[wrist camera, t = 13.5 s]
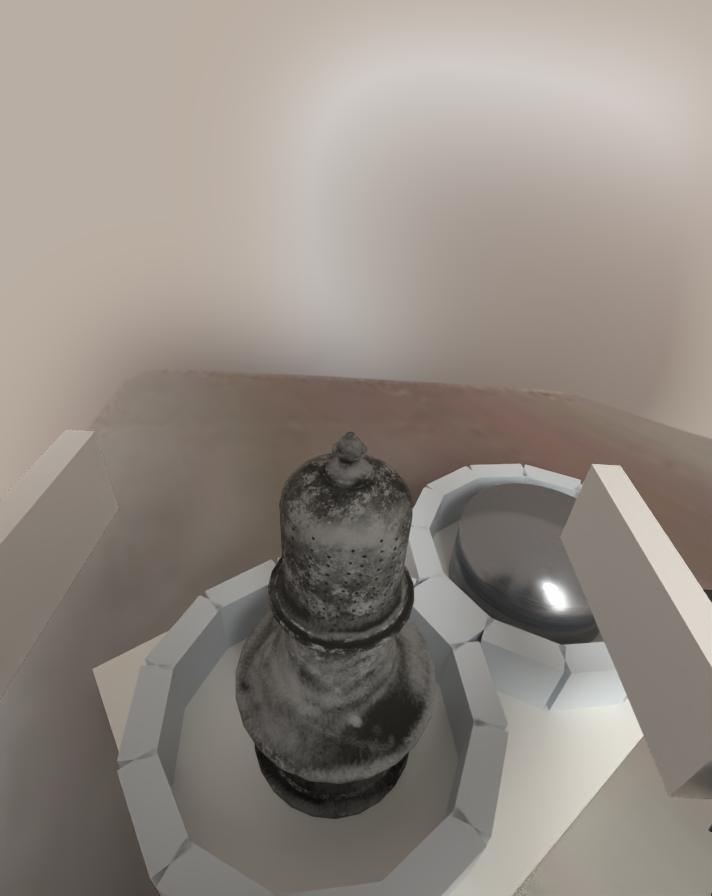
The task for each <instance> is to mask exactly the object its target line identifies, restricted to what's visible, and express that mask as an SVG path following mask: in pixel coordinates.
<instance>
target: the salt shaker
mask: <svg viewBox="0 0 712 896" xmlns="http://www.w3.org/2000/svg"><path fill="white" fill-rule="evenodd" d="M332 452H333V453H328V454H324V455H320V456H317V457H315V458H313V459H310V460H308V461H307V462H305V463H304V464H303V465H301V466H300V467H299V468H298V469H297V470H295V471H294V472H293V473H292V474H291V476H290V477H289V479H288V480H287V481H286V483H285V485H284V489H283V492H282V496H281V500H280V504H279V505H280V524H281V544H282V557H281V558H280V559H279V561H278V562H277V564H276V565H275V567H274V569H273V570H272V573H271V576H270V580H269V584H268V594H269V605H270V607H271V610H270V611H269V612H268V613H267V614H266V615H265V616H264V617H263V618H262V619H261V620H260V621H259V622H258V624H257V625H256V626H255V627H254V628H253V630H252V632H251V634H250V635H249V637H248V639H247V640H246V642H245V644H244V645H243V647H242V651H241V654H240V658H239V661H238V665H237V668H236V702H237V705H238V709H239V712H240V716H241V719H242V723H243V726H244V728H245V729H246V731H247V732H248V734H249V736H250V737H251V739H252V740H253V742H254V743H255V752H256V756H257V759H258V763H259V766H260V769H261V772H262V774H263V776H264V777H265V779H266V780H267V782H268V784H269V785H270V787H271V788H272V790H273V792H274V793H276V794H277V795H278V796H279V797H280V798H281V799H282V800H283V801H285V802H286V803H287V804H288V805H289V806H290V807H292V808H294V809H296V810H299V811H301V812H303V813H305V814H308V815H310V816H312V817H321V818H330V819H338V818H343V817H348V816H352V815H357V814H360V813H362V812H363V811H365V810H367V809H369V808H370V807H372V806H374V805H376V804H377V803H379V802H380V801H381V800H382V799H383V798H384V797H385V796H386V795H387V794H388V793H389V792H390V791H391V790H392V789H393V787H394V786H395V785H396V783H397V781H398V779H399V778H400V776H401V774H402V772H403V770H404V768H405V766H406V764H407V759H408V755H409V751H410V750H411V749H412V748H413V747H414V746H415V745H416V744H417V743H418V741H419V739H420V737H421V735H422V733H423V732H424V730H425V728H426V726H427V724H428V722H429V720H430V718H431V714H432V709H433V705H434V700H435V695H436V678H435V665H434V662H433V659H432V656H431V653H430V650H429V647H428V644H427V642H426V640H425V639H424V637H423V636H422V634H421V633H420V631H419V630H418V628H417V627H416V625H415V624H414V622H413V621H412V620H411V619H409V617H410V614H411V610H412V607H413V604H414V584H413V581H412V578H411V576H410V573H409V570H408V569H407V567H406V566H405V565H404V564H405V558H406V552H407V546H408V540H409V534H410V529H411V523H412V517H413V513H412V500H411V494H410V491H409V489H408V487H407V485H406V483H405V482H404V481H403V480H402V478H401V477H400V476H399V475H398V474H397V472H396V471H395V470H394V469H393V468H392V467H390V466H389V465H387V464H386V463H385V462H383V461H381V460H379V459H376V458H374V457H372V456H368V455H366V453H367V448H366V446H365V445H364V444H363V443H361V440H360V439H359V438H358V437H356V436H355V434H354V433H353V432H348V433H346V435H345V436H343V437H342V438H340V440H339V441H338V442H337V443H335V444H334V445H333V449H332Z"/></svg>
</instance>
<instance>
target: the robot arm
mask: <svg viewBox="0 0 712 896" xmlns="http://www.w3.org/2000/svg"><path fill="white" fill-rule="evenodd" d="M118 509H119V507H118V504H117V501H116V498H115V494H114V491H113V488H112V485H111V482H110V478H109V475H108V472H107V469H106V465H105V462H104V459H103V456H102V452H101V449H100V446H99V443H98V439H97V436H96V433H95V431H81V430H65V431H64V432H63V433H62V434H61V435H60V436H59V437H58V438H57V440H56V441H55V442H54V443H53V444H52V445H51V446H50V447H49V448H48V449H47V450H46V451H45V452H44V453H43V454H42V456H41V457H40V458H39V459H38V460H37V461H36V462H35V463H34V464H33V465H32V466H31V467H30V468H29V470H28V471H27V472H26V473H25V474H24V475H23V476H22V477H21V478H20V479H19V480H18V481H17V482H16V483H15V484H14V486H13V487H12V488H11V489H10V490H9V491H8V492H7V493H6V494H5V495H4V496H3V497H2V498H1V499H0V698H1V697H2V695H3V694H4V692H5V690H6V689H7V687H8V686H9V684H10V682H11V681H12V679H13V678H14V676H15V674H16V673H17V671H18V670H19V668H20V666H21V665H22V663H23V662H24V660H25V658H26V657H27V655H28V654H29V652H30V650H31V649H32V647H33V645H34V644H35V642H36V641H37V639H38V637H39V636H40V634H41V633H42V631H43V629H44V628H45V626H46V625H47V623H48V621H49V620H50V618H51V617H52V615H53V613H54V612H55V610H56V609H57V607H58V605H59V604H60V602H61V601H62V599H63V597H64V596H65V594H66V593H67V591H68V589H69V588H70V586H71V585H72V583H73V581H74V580H75V578H76V577H77V575H78V573H79V572H80V570H81V569H82V567H83V565H84V564H85V562H86V561H87V559H88V557H89V556H90V554H91V553H92V551H93V549H94V548H95V546H96V545H97V543H98V541H99V540H100V538H101V537H102V535H103V533H104V532H105V530H106V529H107V527H108V525H109V524H110V522H111V521H112V519H113V517H114V516H115V514H116V512H117V511H118ZM560 538H561V540H562V543H563V545H564V547H565V550H566V552H567V555H568V557H569V559H570V562H571V564H572V566H573V569H574V571H575V574H576V576H577V578H578V581H579V583H580V585H581V588H582V590H583V593H584V595H585V597H586V600H587V602H588V604H589V607H590V609H591V612H592V614H593V616H594V619H595V621H596V623H597V626H598V628H599V631H600V633H601V635H602V638H603V640H604V642H605V645H606V647H607V650H608V652H609V654H610V657H611V659H612V661H613V664H614V666H615V669H616V671H617V673H618V676H619V678H620V680H621V683H622V685H623V688H624V690H625V692H626V695H627V697H628V700H629V702H630V704H631V707H632V709H633V711H634V714H635V716H636V719H637V721H638V723H639V726H640V728H641V730H642V733H643V735H644V738H645V740H646V742H647V745H648V747H649V749H650V752H651V754H652V757H653V759H654V761H655V764H656V766H657V768H658V771H659V773H660V776H661V778H662V780H663V783H664V785H665V787H666V790H667V792H668V795H669V797H683V798H699V799H711V798H712V590H704V589H702V588H701V586H700V585H699V583H698V582H697V580H696V579H695V577H694V576H693V574H692V573H691V571H690V570H689V568H688V567H687V565H686V564H685V562H684V561H683V559H682V558H681V556H680V555H679V553H678V552H677V550H676V549H675V547H674V546H673V544H672V543H671V541H670V539H669V538H668V536H667V535H666V533H665V532H664V530H663V529H662V527H661V526H660V524H659V523H658V521H657V520H656V518H655V517H654V515H653V514H652V512H651V511H650V509H649V508H648V506H647V505H646V503H645V502H644V500H643V499H642V497H641V496H640V494H639V493H638V491H637V490H636V488H635V487H634V485H633V484H632V482H631V481H630V479H629V478H628V476H627V475H626V473H625V472H624V470H623V469H622V467H621V466H616V465H601V464H591V467H590V469H589V471H588V474H587V476H586V478H585V481H584V483H583V485H582V487H581V490H580V492H579V494H578V497H577V499H576V501H575V504H574V506H573V508H572V511H571V513H570V515H569V518H568V520H567V522H566V525H565V527H564V529H563V532H562V534H561V536H560ZM709 831H711V832H712V825H711V826H710V828H709ZM711 896H712V894H711Z"/></svg>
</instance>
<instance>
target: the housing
mask: <svg viewBox="0 0 712 896" xmlns="http://www.w3.org/2000/svg"><path fill="white" fill-rule="evenodd" d="M580 481H581V480H579V479H576V478H572V477H568V476H565V475H561V474H558V473H554V472H551V471H547V470H544V469H540V468H536V467H533V466H529V465H526V464H525V467H524V468H523V467H522V465H521V464H490V465H470V467H469V468H468V467H467V466H465V467H462V468H460V469H458V470H456V471H454V472H452V473H450V474H448V475H446V476H444V477H442V478H440V479H437V480H435V481H433V482H431V483H429V484H427V487H424V488H423V490H422V492H421V494H420V496H419V498H418V500H417V502H416V504H415V506H414V508H412V513H413V517H412V523H411V529H410V534H409V540H408V546H407V552H406V558H405V564H404V565H405V566H406V567H407V569H408V570H409V573H410V576H411V578H412V581H413V584H414V604H413V607H412V610H411V614H410V617H409V619H411V620H412V621H413V622H414V624H415V625H416V627H417V628H418V630H419V631H420V633H421V634H422V636H423V637H424V639H425V640H426V642H427V644H428V647H429V650H430V653H431V656H432V659H433V662H434V665H435V678H436V695H435V700H434V705H433V709H432V714H431V718H430V720H429V722H428V724H427V726H426V728H425V730H424V732H423V733H422V735H421V737H420V739H419V741H418V743H417V744H416V745H415V746H414V747H413V748H412V749H411V750H410V751H409V755H408V759H407V764H406V766H405V768H404V770H403V772H402V774H401V776H400V778H399V779H398V781H397V783H396V785H395V786H394V787H393V789H392V790H391V791H390V792H389V793H388V794H387V795H386V796H385V797H384V798H383V799H382V800H381V801H380V802H379V803H377V804H376V805H374V806H372V807H370V808H369V809H367V810H365V811H363V812H362V813H360V814H357V815H352V816H348V817H343V818H338V819H330V818H321V817H312V816H310V815H308V814H305V813H303V812H301V811H299V810H296V809H294V808H292V807H290V806H289V805H288V804H287V803H286V802H285V801H283V800H282V799H281V798H280V797H279V796H278V795H277V794H276V793H274V792H273V790H272V788H271V787H270V785H269V784H268V782H267V780H266V779H265V777H264V776H263V774H262V772H261V769H260V766H259V763H258V759H257V756H256V752H255V743H254V742H253V740H252V739H251V737H250V736H249V734H248V732H247V731H246V729H245V728H244V726H243V723H242V719H241V716H240V712H239V709H238V705H237V702H236V668H237V665H238V661H239V658H240V654H241V651H242V647H243V645H244V644H245V642H246V640H247V639H248V637H249V635H250V634H251V632H252V630H253V628H254V627H255V626H256V625H257V624H258V622H259V621H260V620H261V619H262V618H263V617H264V616H265V615H266V614H267V613H268V612H269V611H270V610H271V607H270V605H269V594H268V584H269V580H270V576H271V573H272V570H273V569H274V567H275V565H276V564H275V563H274V561H273V560H272V559H271V560H268V561H266V562H264V563H262V564H260V565H258V566H256V567H254V568H252V569H250V570H248V571H246V572H243V573H241V574H239V575H237V576H235V577H233V578H231V579H229V580H227V581H225V582H223V583H220V584H218V585H216V586H214V587H212V588H210V589H208V590H206V591H205V593H206V598H205V597H203V596H201V595H199V596H198V597H197V599H196V600H195V601H194V602H193V603H192V604H191V606H190V607H189V608H188V609H187V610H186V611H185V613H184V614H183V615H182V616H181V617H180V618H179V620H178V621H177V622H176V623H175V624H174V625H173V627H172V628H171V629H170V630H169V631H167V632H165V633H163V634H161V635H159V636H157V637H155V638H153V639H151V640H149V641H147V642H145V643H143V644H141V645H139V646H137V647H135V648H133V649H131V650H129V651H127V652H125V653H123V654H121V655H119V656H117V657H115V658H113V659H111V660H109V661H107V662H105V663H103V664H101V665H99V666H97V667H95V668H93V669H92V670H93V673H94V676H95V679H96V682H97V685H98V688H99V692H100V695H101V698H102V701H103V704H104V707H105V710H106V714H107V717H108V720H109V723H110V726H111V729H112V732H113V735H114V739H115V742H116V745H117V748H118V751H119V754H118V758H117V763H118V765H119V767H120V769H119V770H117V774H118V777H119V780H120V783H121V787H122V790H123V793H124V796H125V800H126V803H127V806H128V809H129V813H130V816H131V819H132V822H133V826H134V829H135V832H136V835H137V839H138V842H139V845H140V848H141V852H142V855H143V858H144V861H145V865H146V868H147V871H148V874H149V878H150V880H151V881H152V883H153V884H154V886H155V887H156V889H157V891H158V892H159V894H160V895H161V896H512V895H513V894H514V893H515V891H516V890H517V889H518V888H519V887H520V885H521V884H522V883H523V882H524V880H525V879H526V878H527V877H528V876H529V874H530V873H531V872H532V871H533V869H534V868H535V867H536V866H537V865H538V863H539V862H540V861H541V860H542V859H543V857H544V856H545V855H546V854H547V852H548V851H549V850H550V849H551V848H552V846H553V845H554V844H555V843H556V841H557V840H558V839H559V838H560V837H561V835H562V834H563V833H564V832H565V831H566V829H567V828H568V827H569V826H570V824H571V823H572V822H573V821H574V820H575V818H576V817H577V816H578V815H579V813H580V812H581V811H582V810H583V809H584V807H585V806H586V805H587V804H588V803H589V801H590V800H591V799H592V798H593V796H594V795H595V794H596V793H597V792H598V790H599V789H600V788H601V787H602V785H603V784H604V783H605V782H606V781H607V779H608V778H609V777H610V776H611V775H612V773H613V772H614V771H615V770H616V768H617V767H618V766H619V765H620V764H621V762H622V761H623V760H624V759H625V757H626V756H627V755H628V754H629V753H630V751H631V750H632V749H633V748H634V747H635V745H636V744H637V743H638V742H639V740H640V739H641V738H642V737H643V736H644V735H643V733H642V730H641V728H640V726H639V723H638V721H637V719H636V716H635V714H634V711H633V709H632V707H631V704H630V702H629V700H628V697H627V695H626V692H625V690H624V688H623V685H622V683H621V680H620V678H619V676H618V673H617V671H616V669H615V666H614V664H613V661H612V659H611V657H610V654H609V652H608V650H607V647H606V645H605V642H604V640H603V638H602V635H601V633H600V632H599V634H598V635H597V636H596V637H595V638H594V640H593V641H591V642H590V643H581V644H568V645H561V644H558V643H555V642H553V641H550V640H547V639H545V638H542V637H540V636H537V635H534V634H532V633H529V632H526V631H524V630H521V629H518V628H516V627H513V626H511V625H508V624H505V623H503V622H500V621H497V620H495V619H492V618H491V617H490V616H489V615H487V614H486V613H485V612H484V611H483V610H482V609H481V608H480V607H479V606H478V605H477V604H476V603H475V602H474V601H472V600H471V599H470V598H469V597H468V596H467V595H466V594H465V593H464V592H463V591H462V590H461V589H460V588H459V587H458V586H456V585H455V584H454V583H453V582H452V581H451V580H450V579H449V564H450V560H451V556H452V552H453V548H454V544H455V540H456V536H457V532H458V528H459V524H460V520H461V517H462V513H463V510H464V508H465V506H466V504H467V503H468V502H469V500H470V499H471V498H472V497H473V496H475V495H476V494H477V493H479V492H481V491H483V490H485V489H487V488H490V487H493V486H497V485H502V484H513V483H516V484H532V485H537V486H543V487H547V488H551V489H554V490H557V491H560V492H563V493H565V494H567V495H570V496H572V497H574V498H576V499H577V497H578V494H579V492H580V490H581V487H582V485H583V484H581V485H580ZM280 558H281V557H278V561H279V559H280Z"/></svg>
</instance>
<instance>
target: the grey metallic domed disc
mask: <svg viewBox="0 0 712 896" xmlns="http://www.w3.org/2000/svg"><path fill="white" fill-rule="evenodd" d="M575 501H576V498H574V497H572V496H570V495H567V494H565V493H563V492H560V491H557V490H554V489H551V488H547V487H543V486H537V485H532V484H516V483H513V484H502V485H497V486H493V487H490V488H487V489H485V490H483V491H481V492H479V493H477V494H476V495H475V496H473V497H472V498H471V499H470V500H469V502H468V503H467V504H466V506H465V508H464V510H463V513H462V517H461V520H460V524H459V528H458V532H457V536H456V540H455V544H454V548H453V552H452V556H451V560H450V564H449V579H450V580H451V581H452V582H453V583H454V584H455V585H456V586H458V587H459V588H460V589H461V590H462V591H463V592H464V593H465V594H466V595H467V596H468V597H469V598H470V599H471V600H472V601H474V602H475V603H476V604H477V605H478V606H479V607H480V608H481V609H482V610H483V611H484V612H485V613H486V614H487V615H489V616H490V617H491V618H492V619H495V620H497V621H500V622H503V623H505V624H508V625H511V626H513V627H516V628H518V629H521V630H524V631H526V632H529V633H532V634H534V635H537V636H540V637H542V638H545V639H547V640H550V641H553V642H555V643H558V644H561V645H568V644H581V643H590V642H591V641H593V640H594V638H595V637H596V636H597V635H598V634H599V632H600V631H599V628H598V626H597V623H596V621H595V619H594V616H593V614H592V612H591V609H590V607H589V604H588V602H587V600H586V597H585V595H584V593H583V590H582V588H581V585H580V583H579V581H578V578H577V576H576V574H575V571H574V569H573V566H572V564H571V562H570V559H569V557H568V555H567V552H566V550H565V547H564V545H563V543H562V540H561V538H560V536H561V534H562V532H563V529H564V527H565V525H566V522H567V520H568V518H569V515H570V513H571V511H572V508H573V506H574V504H575Z"/></svg>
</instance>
